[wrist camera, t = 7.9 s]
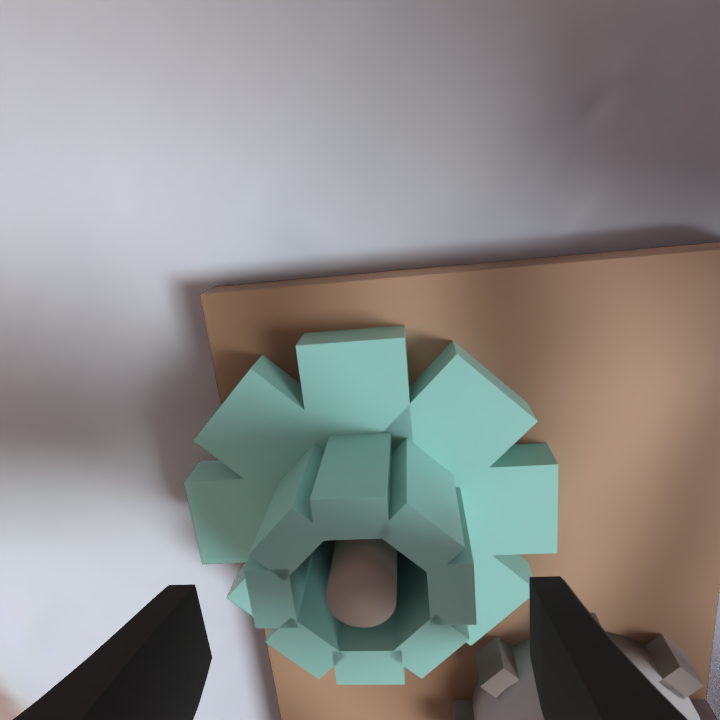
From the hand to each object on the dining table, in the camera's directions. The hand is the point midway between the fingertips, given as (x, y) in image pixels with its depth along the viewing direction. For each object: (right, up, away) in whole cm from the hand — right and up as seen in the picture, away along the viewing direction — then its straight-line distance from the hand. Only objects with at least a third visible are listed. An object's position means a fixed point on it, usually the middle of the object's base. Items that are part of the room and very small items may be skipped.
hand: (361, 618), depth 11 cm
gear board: (+4, -1, +6) cm, 7 cm away
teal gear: (0, +2, +4) cm, 5 cm away
